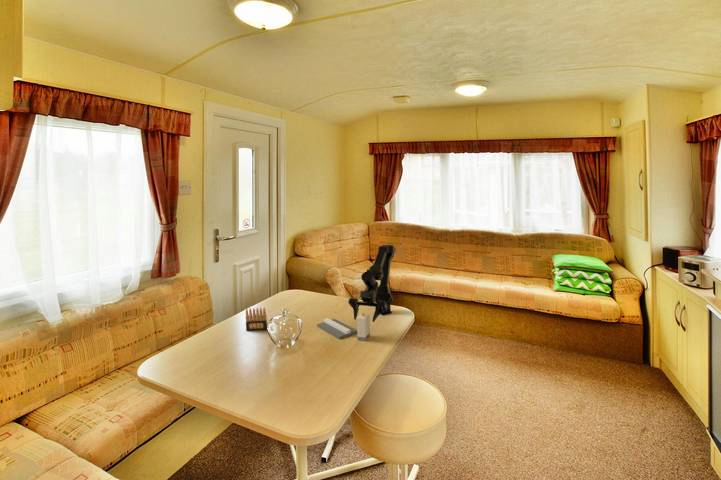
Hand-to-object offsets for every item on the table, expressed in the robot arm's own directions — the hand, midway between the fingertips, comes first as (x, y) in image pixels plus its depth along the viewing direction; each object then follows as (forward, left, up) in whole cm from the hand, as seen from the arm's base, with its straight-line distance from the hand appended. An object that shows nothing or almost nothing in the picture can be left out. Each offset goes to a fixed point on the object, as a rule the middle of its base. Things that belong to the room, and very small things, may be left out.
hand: (363, 320), depth 163 cm
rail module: (0, 0, -8) cm, 9 cm away
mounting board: (+8, -15, -8) cm, 19 cm away
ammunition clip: (+44, -36, -9) cm, 57 cm away
